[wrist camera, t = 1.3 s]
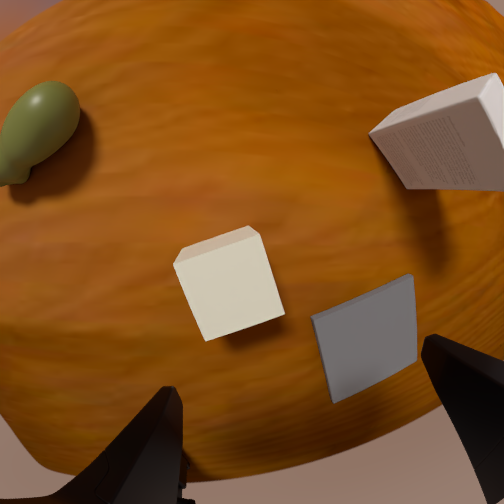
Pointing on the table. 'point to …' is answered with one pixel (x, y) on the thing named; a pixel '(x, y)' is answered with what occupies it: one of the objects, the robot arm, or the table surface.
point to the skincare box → (448, 138)
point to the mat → (367, 337)
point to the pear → (36, 129)
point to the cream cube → (228, 282)
